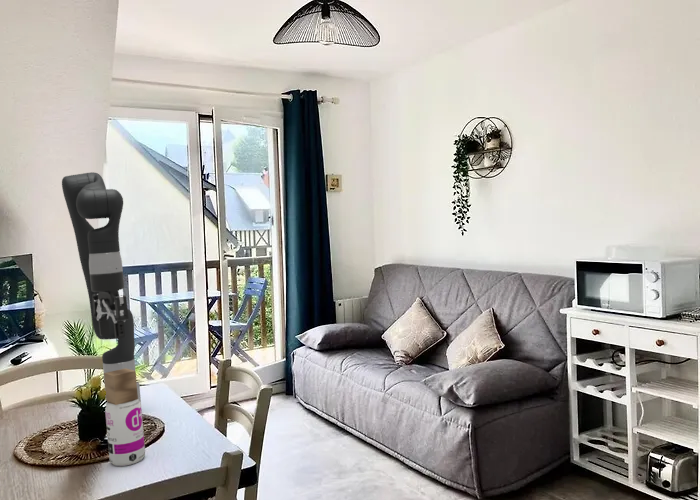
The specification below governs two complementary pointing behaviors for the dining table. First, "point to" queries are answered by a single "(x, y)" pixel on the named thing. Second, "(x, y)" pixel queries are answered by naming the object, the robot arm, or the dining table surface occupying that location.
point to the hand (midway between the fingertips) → (112, 336)
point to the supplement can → (125, 433)
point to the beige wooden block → (120, 386)
